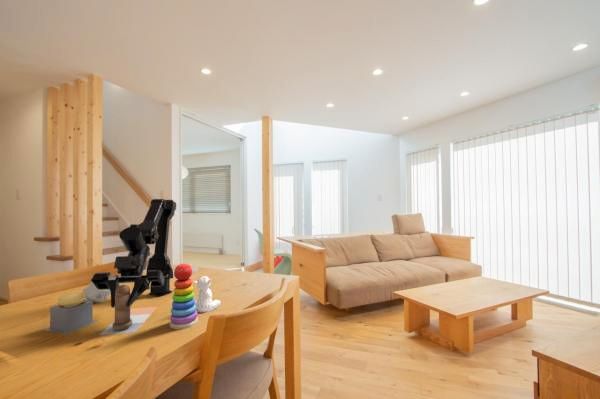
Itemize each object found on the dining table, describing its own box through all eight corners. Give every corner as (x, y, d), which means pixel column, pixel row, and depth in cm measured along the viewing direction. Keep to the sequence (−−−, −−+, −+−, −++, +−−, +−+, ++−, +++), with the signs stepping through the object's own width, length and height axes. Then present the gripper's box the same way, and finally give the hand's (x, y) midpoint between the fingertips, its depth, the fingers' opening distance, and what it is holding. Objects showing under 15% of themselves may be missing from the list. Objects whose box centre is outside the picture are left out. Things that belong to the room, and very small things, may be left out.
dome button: (75, 315, 85) (76, 291, 85) (90, 318, 83) (91, 293, 83) (51, 324, 79) (52, 298, 79) (67, 327, 77) (67, 300, 77)
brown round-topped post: (125, 320, 82) (125, 281, 83) (135, 323, 80) (136, 283, 81) (108, 327, 78) (109, 286, 78) (119, 330, 76) (119, 288, 76)
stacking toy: (175, 320, 86) (175, 261, 87) (201, 319, 87) (201, 260, 87) (164, 332, 78) (165, 266, 79) (193, 331, 79) (194, 266, 79)
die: (88, 308, 98) (108, 284, 101) (71, 295, 100) (92, 272, 103) (103, 309, 106) (121, 286, 109) (87, 296, 107) (106, 275, 110)
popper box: (77, 320, 87) (77, 297, 87) (98, 323, 84) (98, 300, 84) (43, 332, 78) (43, 308, 78) (65, 337, 75) (65, 311, 76)
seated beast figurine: (221, 305, 100) (221, 272, 100) (218, 314, 91) (218, 278, 92) (193, 306, 98) (193, 273, 98) (188, 316, 90) (188, 279, 90)
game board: (129, 310, 94) (129, 308, 94) (157, 309, 96) (157, 306, 96) (98, 337, 75) (98, 334, 75) (134, 335, 77) (134, 332, 77)
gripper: (94, 245, 82) (70, 295, 71) (161, 244, 85) (148, 290, 74) (108, 266, 89) (87, 313, 78) (169, 264, 93) (158, 309, 82)
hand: (120, 306), depth 78 cm, fingers closed on brown round-topped post, 4 cm apart
